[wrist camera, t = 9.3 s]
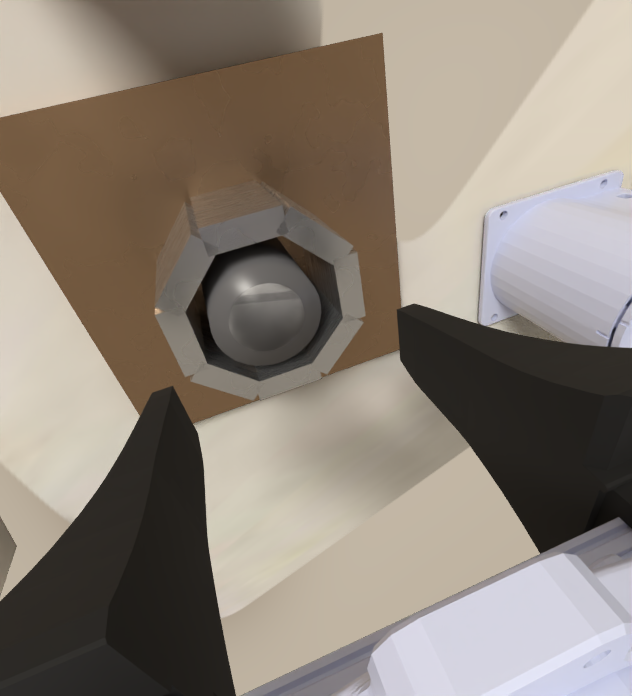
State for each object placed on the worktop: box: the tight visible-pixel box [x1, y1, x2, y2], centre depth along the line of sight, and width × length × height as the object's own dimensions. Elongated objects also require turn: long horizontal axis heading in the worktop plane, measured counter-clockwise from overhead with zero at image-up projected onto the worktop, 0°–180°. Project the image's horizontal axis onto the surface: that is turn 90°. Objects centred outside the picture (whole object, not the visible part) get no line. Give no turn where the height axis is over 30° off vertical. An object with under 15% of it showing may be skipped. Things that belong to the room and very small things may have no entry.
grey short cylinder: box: [201, 237, 321, 366], centre depth 18 cm, size 4×4×5 cm
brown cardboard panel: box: [0, 33, 401, 423], centre depth 18 cm, size 16×16×6 cm
